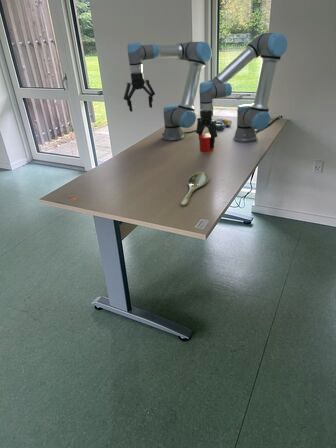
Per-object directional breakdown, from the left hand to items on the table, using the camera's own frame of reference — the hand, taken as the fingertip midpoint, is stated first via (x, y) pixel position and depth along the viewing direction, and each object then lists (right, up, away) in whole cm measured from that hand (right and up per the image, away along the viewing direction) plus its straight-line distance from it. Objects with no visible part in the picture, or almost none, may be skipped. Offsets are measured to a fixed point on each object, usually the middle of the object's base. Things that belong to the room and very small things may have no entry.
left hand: (141, 109), depth 209 cm
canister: (+42, -25, +5) cm, 49 cm away
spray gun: (+59, +5, +55) cm, 81 cm away
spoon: (+30, -54, -38) cm, 73 cm away
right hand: (+42, -22, +3) cm, 47 cm away
